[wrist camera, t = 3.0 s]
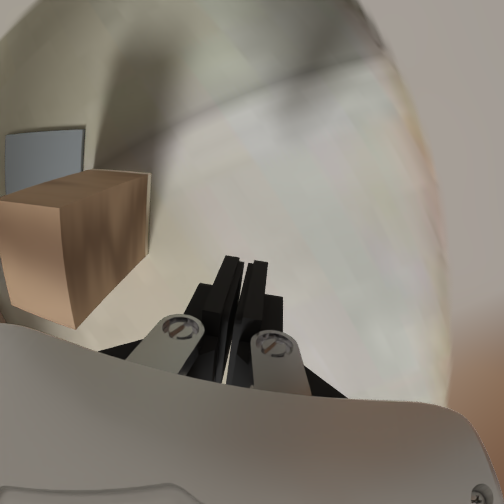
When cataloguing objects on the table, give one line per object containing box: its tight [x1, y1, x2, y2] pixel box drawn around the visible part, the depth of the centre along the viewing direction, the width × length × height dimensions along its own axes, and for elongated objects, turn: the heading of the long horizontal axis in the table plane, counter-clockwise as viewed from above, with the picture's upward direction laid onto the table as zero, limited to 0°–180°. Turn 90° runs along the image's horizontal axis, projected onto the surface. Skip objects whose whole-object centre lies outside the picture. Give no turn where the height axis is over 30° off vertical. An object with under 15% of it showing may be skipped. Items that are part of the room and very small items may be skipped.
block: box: [0, 169, 152, 330], centre depth 16 cm, size 6×5×10 cm
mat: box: [5, 129, 85, 195], centre depth 21 cm, size 12×10×1 cm
